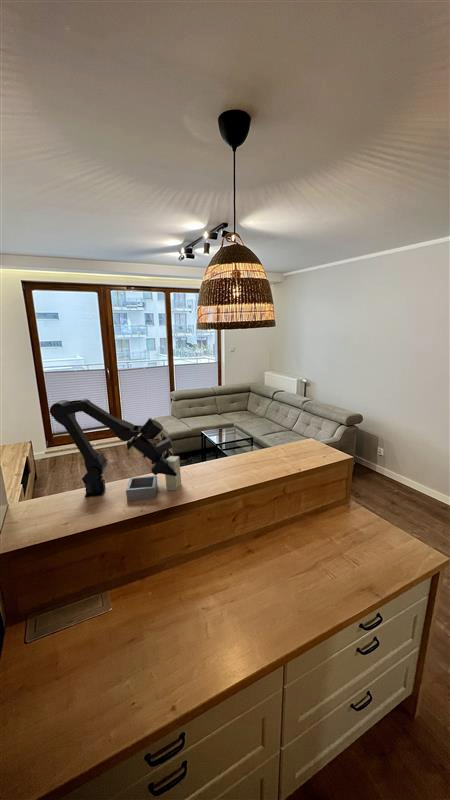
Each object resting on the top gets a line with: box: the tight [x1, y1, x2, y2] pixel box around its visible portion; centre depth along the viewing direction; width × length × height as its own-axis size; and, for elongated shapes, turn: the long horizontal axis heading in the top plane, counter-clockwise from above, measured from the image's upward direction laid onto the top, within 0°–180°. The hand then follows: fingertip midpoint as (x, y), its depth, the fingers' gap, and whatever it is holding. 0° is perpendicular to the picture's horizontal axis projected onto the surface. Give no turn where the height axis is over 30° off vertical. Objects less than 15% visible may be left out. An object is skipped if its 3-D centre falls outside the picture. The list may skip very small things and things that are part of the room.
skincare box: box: [164, 455, 182, 491], centre depth 129 cm, size 6×4×12 cm
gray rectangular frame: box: [125, 475, 158, 502], centre depth 126 cm, size 10×10×4 cm
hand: (176, 471), depth 129 cm, fingers closed on skincare box, 7 cm apart
